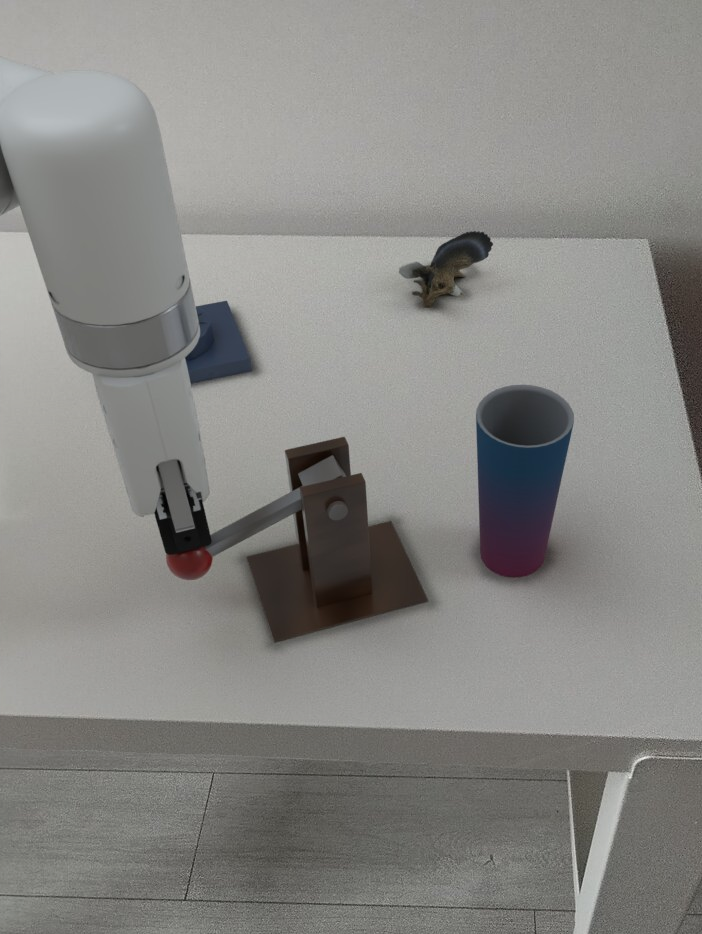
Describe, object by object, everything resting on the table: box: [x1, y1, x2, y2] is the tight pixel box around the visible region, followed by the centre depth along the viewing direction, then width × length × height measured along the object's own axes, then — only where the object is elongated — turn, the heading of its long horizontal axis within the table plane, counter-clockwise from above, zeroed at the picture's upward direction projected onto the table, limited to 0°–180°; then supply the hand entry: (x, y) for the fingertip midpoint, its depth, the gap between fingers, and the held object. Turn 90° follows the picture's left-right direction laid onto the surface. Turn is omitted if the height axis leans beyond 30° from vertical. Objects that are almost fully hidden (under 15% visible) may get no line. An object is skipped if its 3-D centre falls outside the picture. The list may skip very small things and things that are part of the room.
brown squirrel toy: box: [398, 230, 494, 308], centre depth 106 cm, size 8×7×9 cm
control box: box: [185, 300, 253, 385], centre depth 98 cm, size 12×10×4 cm
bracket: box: [245, 436, 429, 644], centre depth 77 cm, size 12×9×13 cm
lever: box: [165, 455, 346, 581], centre depth 73 cm, size 14×3×3 cm, turn 111°
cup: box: [475, 384, 575, 578], centre depth 78 cm, size 7×7×15 cm
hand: (187, 542), depth 72 cm, fingers closed
